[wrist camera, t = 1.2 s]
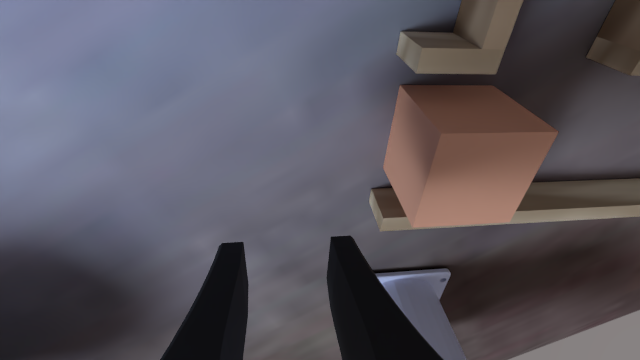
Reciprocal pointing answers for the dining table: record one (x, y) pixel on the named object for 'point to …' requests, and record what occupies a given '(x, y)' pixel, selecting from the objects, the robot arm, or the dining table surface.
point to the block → (462, 154)
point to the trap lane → (484, 58)
